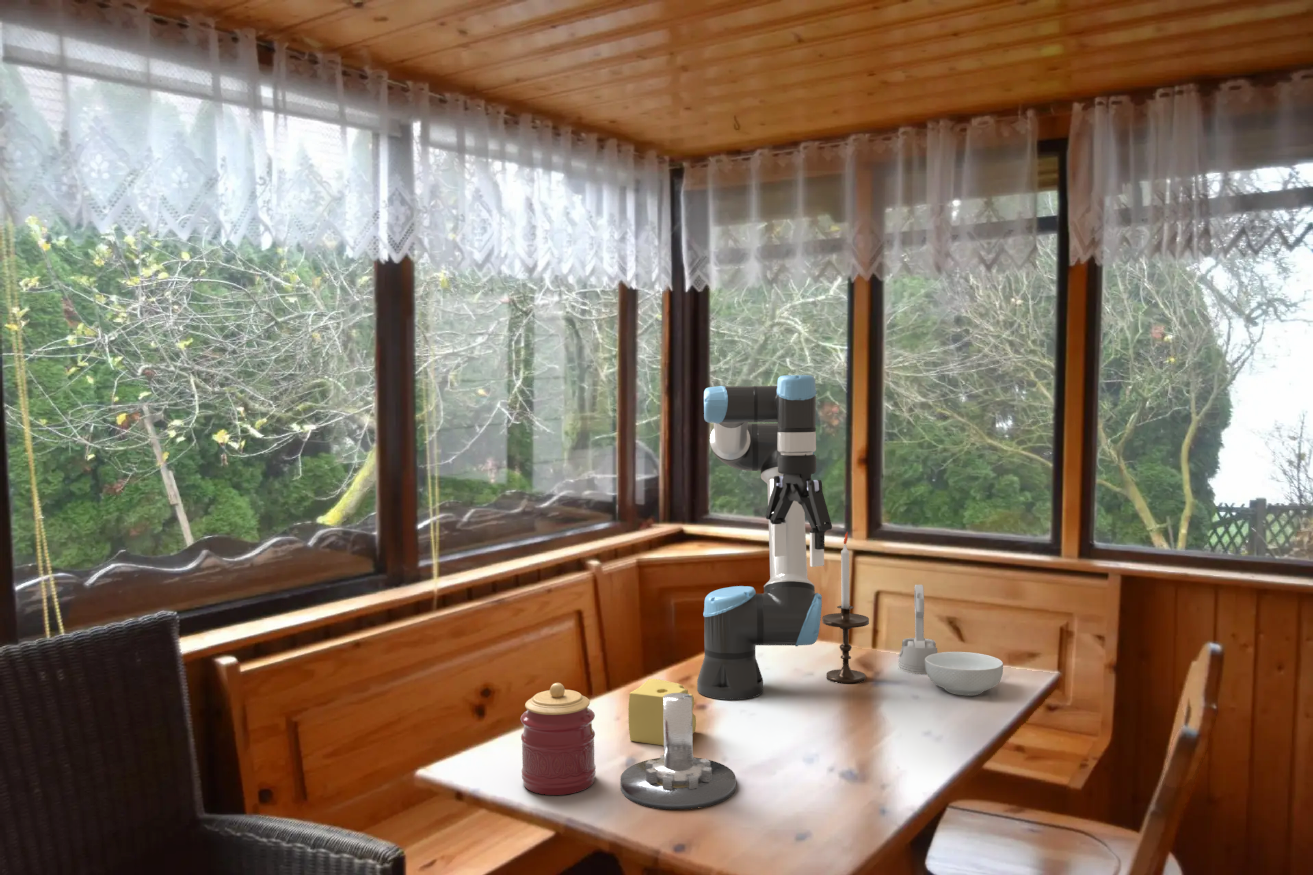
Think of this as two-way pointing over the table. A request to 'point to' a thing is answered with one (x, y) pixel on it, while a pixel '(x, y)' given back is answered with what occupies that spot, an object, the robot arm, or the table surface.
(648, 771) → the sun gear
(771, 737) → the table surface
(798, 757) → the table surface
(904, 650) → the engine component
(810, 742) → the table surface
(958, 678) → the cereal bowl
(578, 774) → the canister
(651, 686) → the cheese
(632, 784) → the carrier plate
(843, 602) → the candlestick
